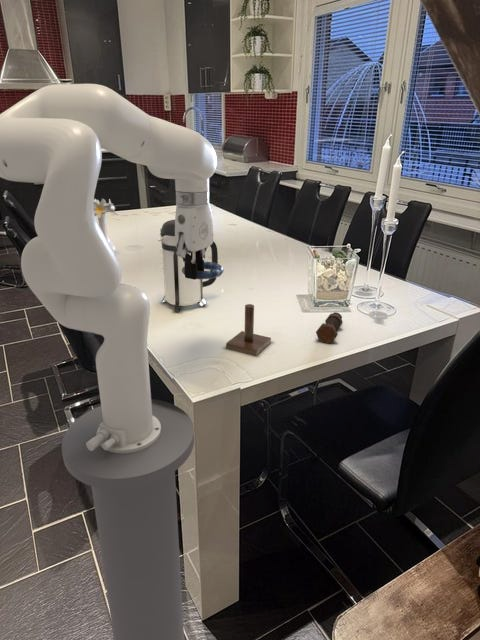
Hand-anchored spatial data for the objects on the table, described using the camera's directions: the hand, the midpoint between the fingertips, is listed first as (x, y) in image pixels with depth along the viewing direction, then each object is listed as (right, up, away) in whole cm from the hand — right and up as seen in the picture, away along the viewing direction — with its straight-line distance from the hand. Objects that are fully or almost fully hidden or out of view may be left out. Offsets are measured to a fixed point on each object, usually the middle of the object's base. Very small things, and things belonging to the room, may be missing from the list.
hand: (194, 276), depth 112 cm
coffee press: (-7, -5, +42) cm, 42 cm away
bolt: (+37, -14, +21) cm, 45 cm away
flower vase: (-48, +18, +91) cm, 105 cm away
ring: (+2, +2, +3) cm, 4 cm away
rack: (+13, -17, +13) cm, 26 cm away
